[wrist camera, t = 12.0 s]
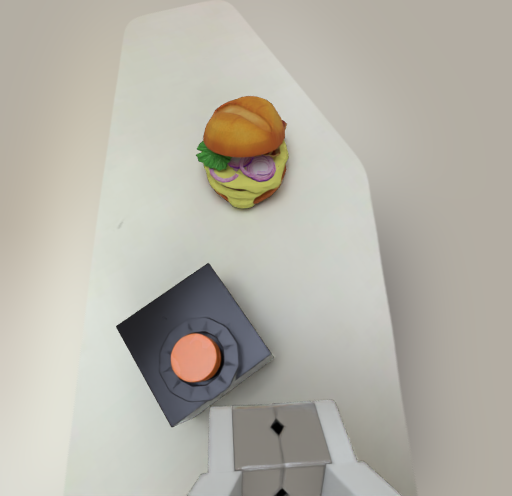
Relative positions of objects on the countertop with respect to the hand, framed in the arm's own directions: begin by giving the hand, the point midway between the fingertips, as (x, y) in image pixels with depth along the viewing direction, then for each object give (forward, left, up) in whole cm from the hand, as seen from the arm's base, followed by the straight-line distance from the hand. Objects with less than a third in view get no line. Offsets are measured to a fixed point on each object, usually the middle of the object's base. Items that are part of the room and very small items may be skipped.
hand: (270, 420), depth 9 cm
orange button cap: (+6, +3, -21) cm, 22 cm away
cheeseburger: (+21, -14, -30) cm, 39 cm away
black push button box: (+8, +3, -30) cm, 31 cm away
